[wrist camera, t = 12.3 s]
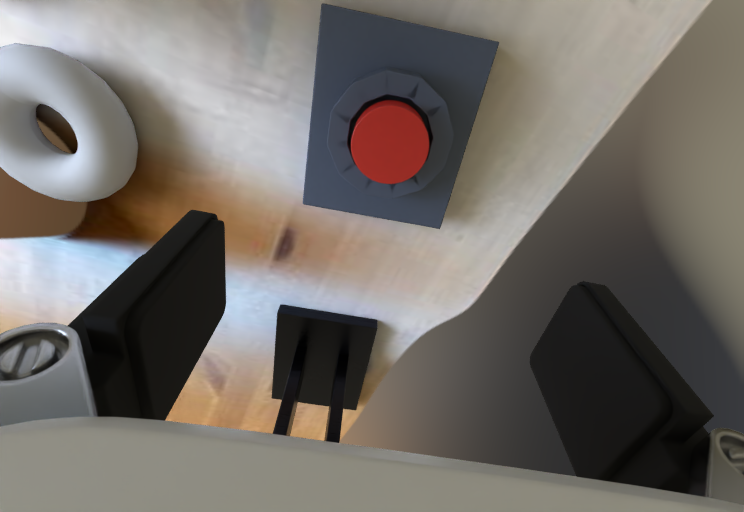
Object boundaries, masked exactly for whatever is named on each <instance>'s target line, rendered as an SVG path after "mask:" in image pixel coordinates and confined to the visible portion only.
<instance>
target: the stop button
mask: <svg viewBox="0 0 744 512" xmlns="http://www.w3.org/2000/svg"><path fill="white" fill-rule="evenodd" d="M351 152H352V156H353V159H354V162H355V164H356V165H357V167H358V168H359V170H360V171H361V172H362V173H363V174H364V175H365V176H367V177H368V178H370V179H371V180H373V181H376V182H379V183H384V184H395V183H400V182H403V181H406V180H408V179H409V178H411V177H413V176H414V175H415V174H416V173H417V172H418V171H419V170H420V169H421V168H422V166H423V165H424V163H425V161H426V159H427V156H428V152H429V136H428V132H427V129H426V127H425V124H424V121H423V119H422V118H421V116H420V115H419V113H418V112H417V111H416V110H415V109H414V108H413V107H411V106H410V105H408V104H406V103H404V102H401V101H397V100H384V101H380V102H377V103H375V104H373V105H371V106H370V107H368V108H367V109H366V110H365V111H364V112H363V113H362V114H361V115H360V117H359V118H358V120H357V122H356V124H355V127H354V131H353V134H352V138H351Z"/></svg>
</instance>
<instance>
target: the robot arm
mask: <svg viewBox="0 0 744 512" xmlns="http://www.w3.org/2000/svg"><path fill="white" fill-rule="evenodd" d="M225 306H226V282H225V228H224V222H223V221H220V220H218V218H217V215H216V214H213V213H207V212H202V211H196V210H190V211H189V212H188V213H187V214H186V215H185V216H184V217H183V218H182V219H181V220H180V221H179V222H178V223H177V224H176V225H175V226H174V227H172V228H171V229H170V230H169V231H168V232H167V233H166V234H165V235H164V236H163V237H162V238H161V239H160V240H159V241H158V242H157V243H156V244H155V245H154V246H153V247H152V248H151V249H150V250H149V251H148V252H147V253H146V254H144V255H142V256H141V257H139V258H138V259H137V260H136V261H135V262H134V263H133V264H132V265H131V266H129V267H128V268H127V269H126V270H125V271H124V272H123V273H122V274H121V275H120V276H119V277H118V278H117V279H116V280H115V281H114V282H113V283H112V284H111V285H110V286H109V287H108V288H107V289H106V290H104V291H103V292H102V293H101V294H100V295H99V296H98V297H97V298H96V299H95V300H94V301H93V302H92V303H91V304H90V305H89V306H88V307H87V308H86V309H85V310H84V311H83V312H82V313H81V314H79V315H78V316H77V317H76V318H75V319H74V320H73V321H72V322H71V323H70V324H69V325H68V326H66V325H62V324H58V323H36V324H30V325H24V326H21V327H17V328H14V329H11V330H8V331H5V332H3V333H1V334H0V512H744V434H742V433H740V432H737V431H734V430H731V429H727V428H717V429H715V430H713V431H712V432H710V433H709V434H708V432H707V431H706V430H705V429H704V427H703V425H705V424H706V423H707V422H708V421H709V420H710V419H711V418H712V417H713V416H714V415H713V414H712V413H711V412H710V411H709V409H708V408H707V407H706V406H705V405H704V403H703V402H702V401H701V400H700V398H699V397H698V396H697V395H696V394H695V392H694V391H693V390H692V389H691V388H690V386H689V385H688V384H687V383H686V382H685V380H684V379H683V378H682V377H681V376H680V374H679V373H678V372H677V371H676V369H675V368H674V367H673V366H672V365H671V363H670V362H669V361H668V360H667V359H666V358H665V356H664V355H663V354H662V353H661V351H660V350H659V349H658V348H657V347H656V345H655V344H654V343H653V342H652V341H651V339H650V338H649V337H648V336H647V334H646V333H645V332H644V331H643V330H642V328H641V327H640V326H639V325H638V324H637V322H636V321H635V320H634V319H633V318H632V316H631V315H630V314H629V313H628V312H627V310H626V309H625V308H624V307H623V306H622V305H621V303H620V302H619V301H618V300H617V298H616V297H615V296H614V295H613V293H612V292H611V291H610V290H609V289H608V288H607V287H606V286H605V285H601V284H595V283H589V282H584V281H583V282H580V283H578V284H577V285H575V286H572V287H571V288H570V289H569V291H568V292H567V295H566V296H565V297H564V299H563V301H562V303H561V304H560V306H559V308H558V309H557V311H556V313H555V314H554V316H553V318H552V320H551V321H550V323H549V324H548V326H547V328H546V330H545V331H544V333H543V335H542V336H541V338H540V340H539V341H538V343H537V345H536V346H535V348H534V350H533V351H532V353H531V356H530V365H531V368H532V371H533V373H534V375H535V378H536V380H537V382H538V385H539V388H540V390H541V392H542V395H543V397H544V399H545V402H546V404H547V407H548V409H549V412H550V414H551V416H552V419H553V421H554V423H555V426H556V428H557V431H558V433H559V435H560V438H561V440H562V442H563V445H564V447H565V450H566V452H567V454H568V457H569V459H570V462H571V464H572V467H573V469H574V471H575V474H576V476H577V477H575V476H568V475H561V474H554V473H546V472H541V471H534V470H527V469H519V468H513V467H506V466H499V465H492V464H485V463H478V462H471V461H464V460H457V459H450V458H443V457H436V456H429V455H422V454H414V453H408V452H401V451H393V450H387V449H379V448H372V447H365V446H358V445H350V444H342V443H336V442H328V441H321V440H314V439H306V438H299V437H292V436H284V435H277V434H270V433H262V432H255V431H247V430H239V429H231V428H222V427H214V426H206V425H197V424H189V423H181V422H172V421H165V419H166V417H167V416H168V414H169V412H170V410H171V408H172V407H173V405H174V403H175V401H176V399H177V398H178V396H179V394H180V392H181V390H182V388H183V387H184V385H185V383H186V381H187V379H188V378H189V376H190V374H191V372H192V370H193V369H194V367H195V365H196V363H197V361H198V360H199V358H200V356H201V354H202V352H203V350H204V349H205V347H206V345H207V343H208V341H209V340H210V338H211V336H212V334H213V332H214V331H215V329H216V327H217V325H218V323H219V322H220V320H221V318H222V316H223V314H224V311H225Z"/></svg>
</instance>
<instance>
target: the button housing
mask: <svg viewBox="0 0 744 512" xmlns="http://www.w3.org/2000/svg"><path fill="white" fill-rule="evenodd" d="M498 45H499V42H496V41H492V40H487V39H483V38H478V37H474V36H469V35H464V34H460V33H455V32H451V31H446V30H442V29H437V28H433V27H428V26H423V25H419V24H414V23H410V22H405V21H401V20H396V19H392V18H387V17H382V16H378V15H373V14H369V13H364V12H360V11H355V10H350V9H346V8H341V7H337V6H332V5H328V4H322V5H321V15H320V26H319V36H318V47H317V58H316V68H315V79H314V89H313V100H312V111H311V121H310V132H309V143H308V153H307V164H306V174H305V185H304V196H303V204H305V205H311V206H316V207H322V208H327V209H333V210H338V211H344V212H349V213H355V214H360V215H366V216H371V217H377V218H383V219H388V220H394V221H399V222H405V223H410V224H416V225H421V226H427V227H432V228H438V229H440V227H441V224H442V221H443V218H444V214H445V211H446V208H447V205H448V202H449V199H450V196H451V193H452V189H453V186H454V183H455V180H456V177H457V174H458V171H459V167H460V164H461V161H462V158H463V155H464V152H465V149H466V145H467V142H468V139H469V136H470V133H471V130H472V127H473V123H474V120H475V117H476V114H477V111H478V108H479V105H480V101H481V98H482V95H483V92H484V89H485V86H486V83H487V79H488V76H489V73H490V70H491V67H492V64H493V61H494V57H495V54H496V51H497V48H498ZM384 100H397V101H401V102H404V103H406V104H408V105H410V106H411V107H413V108H414V109H415V110H416V111H417V112H418V113H419V115H420V116H421V118H422V119H423V121H424V124H425V127H426V129H427V132H428V136H429V152H428V156H427V159H426V161H425V163H424V165H423V166H422V168H421V169H420V170H419V171H418V172H417V173H416V174H415V175H414V176H413V177H411V178H409V179H408V180H406V181H403V182H400V183H395V184H384V183H379V182H376V181H373V180H371V179H370V178H368V177H367V176H365V175H364V174H363V173H362V172H361V171H360V170H359V168H358V167H357V165H356V164H355V162H354V159H353V156H352V152H351V138H352V134H353V131H354V127H355V124H356V122H357V120H358V118H359V117H360V115H361V114H362V113H363V112H364V111H365V110H366V109H367V108H368V107H370V106H371V105H373V104H375V103H377V102H380V101H384Z"/></svg>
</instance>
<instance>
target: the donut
mask: <svg viewBox="0 0 744 512" xmlns="http://www.w3.org/2000/svg"><path fill="white" fill-rule="evenodd" d="M39 104H45V105H48V106H50V107H52V108H53V109H54V110H56V111H57V112H59V113H60V114H61V115H62V116H63V117H64V118H65V119H66V120H67V121H68V122H69V124H70V125H71V127H72V129H73V130H74V132H75V134H76V138H77V141H78V150H77V152H76V153H75V154H71V153H67V152H65V151H62V150H61V149H59V148H58V147H56V146H55V145H53V144H52V143H51V142H50V141H49V140H48V139H47V138H46V137H45V135H44V134H43V132H42V131H41V129H40V128H39V125H38V122H37V119H36V108H37V106H38V105H39ZM137 153H138V142H137V138H136V133H135V128H134V124H133V122H132V120H131V118H130V116H129V114H128V112H127V110H126V108H125V106H124V104H123V102H122V101H121V100H120V99H119V97H118V96H117V95H116V94H115V93H114V91H113V90H112V89H111V88H110V87H109V85H108V84H107V83H106V82H105V81H104V80H103V79H102V78H101V77H99V76H98V75H97V74H95V73H94V72H93V71H91V70H90V69H89V68H87V67H86V66H85V65H84V64H82V63H81V62H79V61H78V60H76V59H74V58H72V57H69V56H67V55H65V54H63V53H60V52H58V51H56V50H54V49H51V48H48V47H41V46H33V45H26V44H19V43H14V44H10V45H6V46H2V47H0V167H1V168H2V169H3V170H4V171H6V172H7V173H8V174H9V175H10V176H12V177H13V178H15V179H17V180H18V181H20V182H21V183H23V184H24V185H26V186H28V187H29V188H31V189H32V190H34V191H37V192H39V193H42V194H45V195H47V196H50V197H53V198H55V199H61V200H68V201H77V202H87V201H93V200H98V199H103V198H106V197H109V196H110V195H112V194H113V193H115V192H116V191H118V190H119V189H121V188H122V187H124V186H125V185H126V183H127V182H128V180H129V179H130V177H131V175H132V174H133V172H134V170H135V169H136V161H137Z"/></svg>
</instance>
